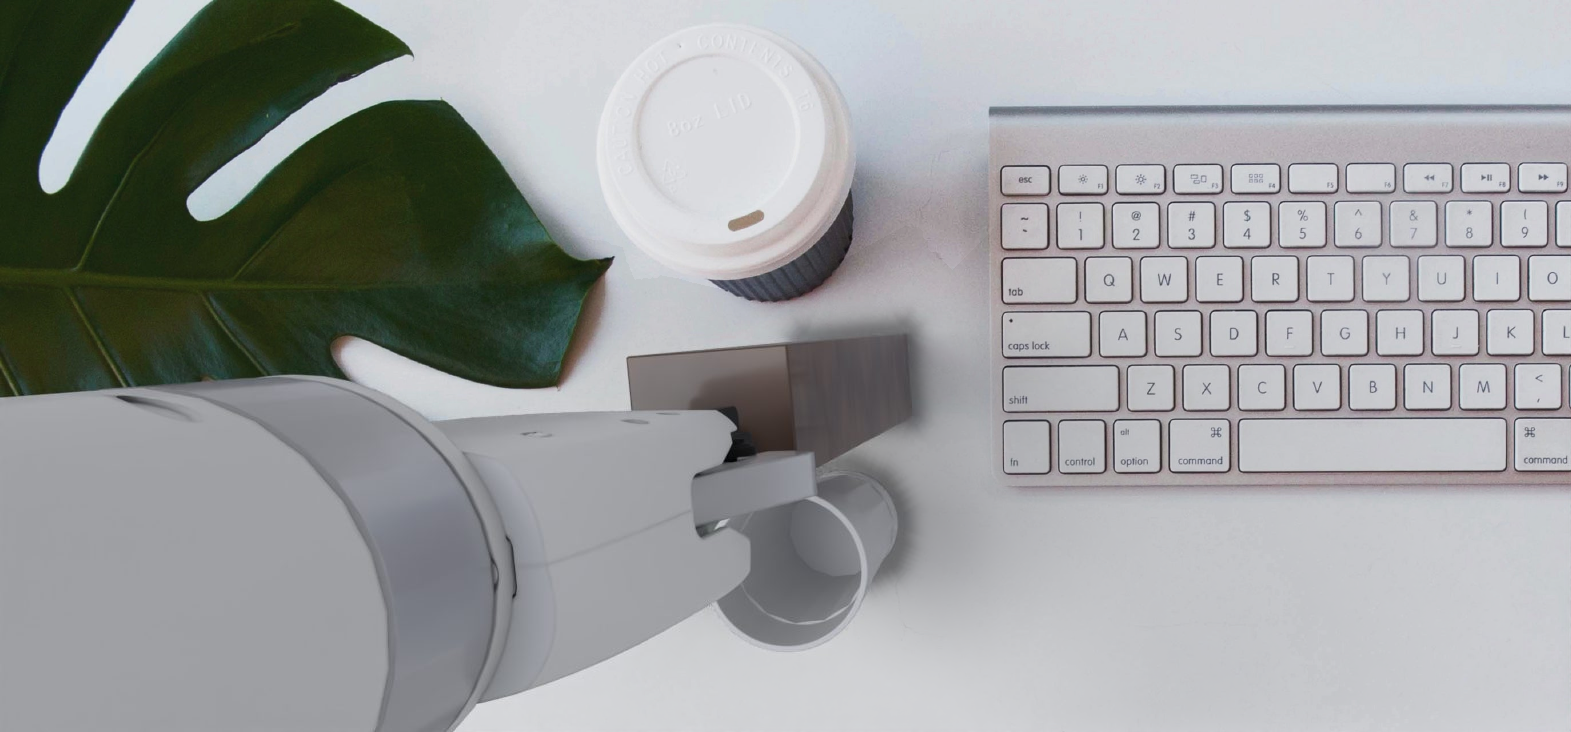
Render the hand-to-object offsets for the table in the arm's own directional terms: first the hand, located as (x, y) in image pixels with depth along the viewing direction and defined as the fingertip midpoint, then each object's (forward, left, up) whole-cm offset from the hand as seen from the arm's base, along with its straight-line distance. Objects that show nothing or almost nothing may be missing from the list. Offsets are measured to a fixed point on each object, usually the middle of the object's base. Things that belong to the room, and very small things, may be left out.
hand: (676, 457), depth 36 cm
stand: (+1, 0, -28) cm, 28 cm away
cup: (-7, +2, -28) cm, 29 cm away
